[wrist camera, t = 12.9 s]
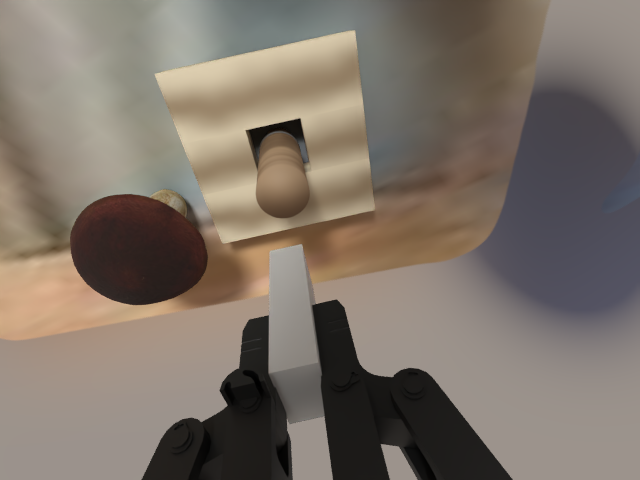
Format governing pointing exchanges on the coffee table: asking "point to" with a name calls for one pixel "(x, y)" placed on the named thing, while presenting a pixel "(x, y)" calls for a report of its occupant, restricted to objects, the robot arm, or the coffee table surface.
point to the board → (270, 108)
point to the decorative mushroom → (138, 247)
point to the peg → (281, 175)
